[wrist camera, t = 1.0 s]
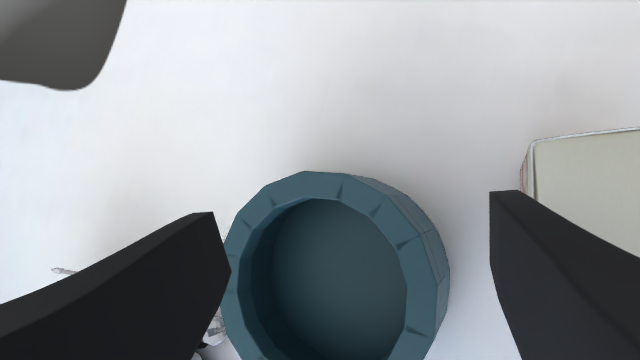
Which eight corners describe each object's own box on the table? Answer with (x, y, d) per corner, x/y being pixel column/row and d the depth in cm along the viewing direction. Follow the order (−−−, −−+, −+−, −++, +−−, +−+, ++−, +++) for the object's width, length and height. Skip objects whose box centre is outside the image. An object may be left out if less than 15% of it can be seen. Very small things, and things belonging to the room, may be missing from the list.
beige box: (634, 156, 19) (763, 114, 10) (642, 249, 19) (784, 295, 10) (513, 164, 21) (526, 135, 12) (518, 248, 21) (537, 285, 12)
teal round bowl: (487, 235, 22) (485, 245, 16) (392, 410, 23) (364, 468, 18) (314, 148, 26) (270, 135, 21) (244, 300, 27) (187, 322, 22)
